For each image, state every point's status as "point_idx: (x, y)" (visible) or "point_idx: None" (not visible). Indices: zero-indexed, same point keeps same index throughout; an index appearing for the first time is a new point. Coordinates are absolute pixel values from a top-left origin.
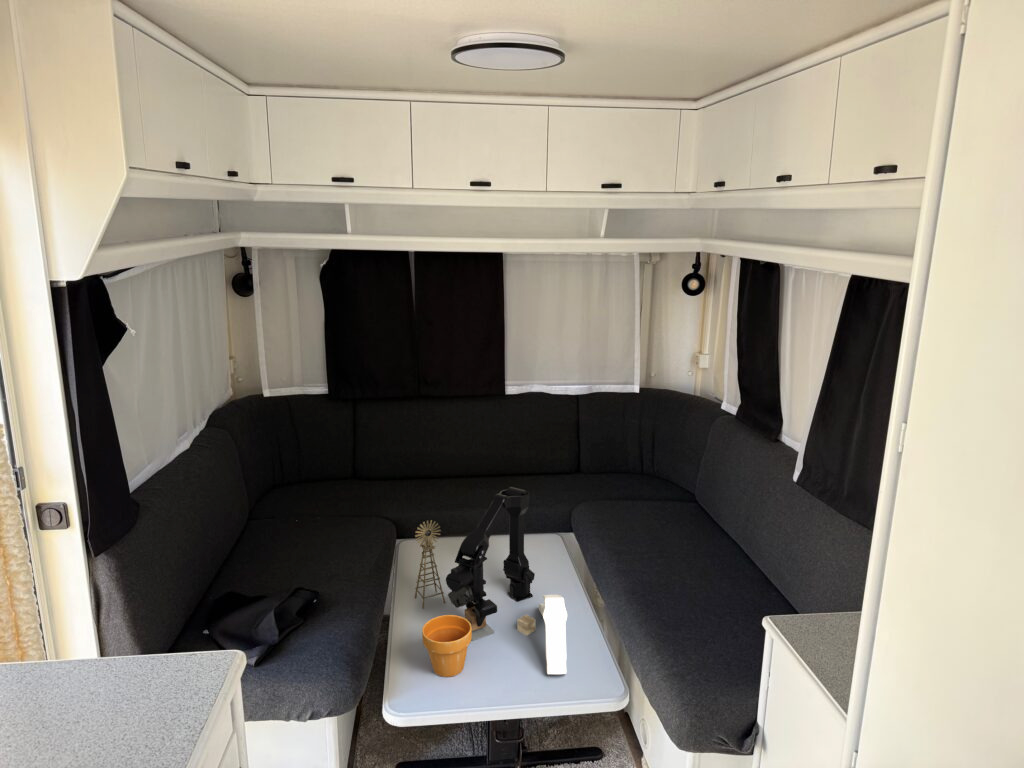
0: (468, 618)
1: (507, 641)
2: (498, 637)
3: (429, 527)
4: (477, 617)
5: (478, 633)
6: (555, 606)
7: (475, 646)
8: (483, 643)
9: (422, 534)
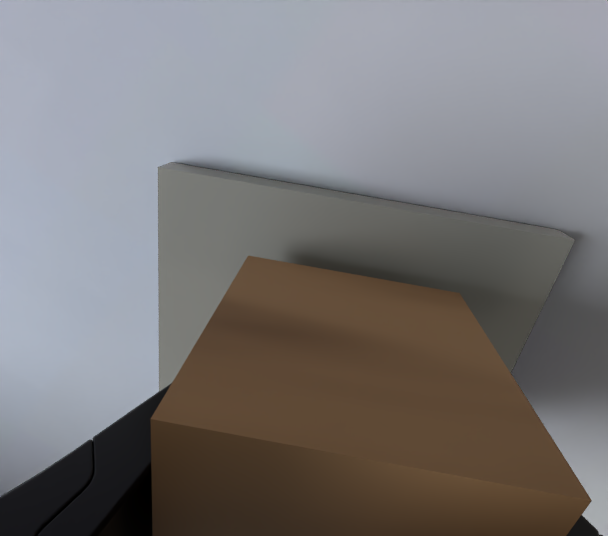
0: (349, 358)
1: (9, 394)
2: (96, 383)
3: None
4: (39, 480)
5: (210, 292)
6: None
7: (60, 130)
8: (73, 233)
9: None
